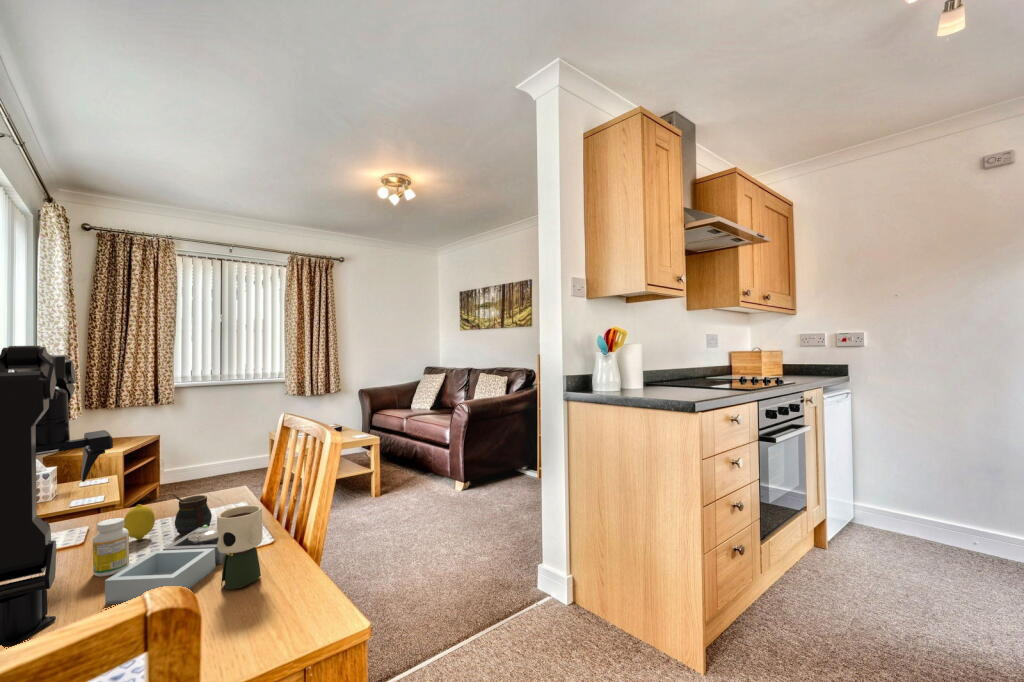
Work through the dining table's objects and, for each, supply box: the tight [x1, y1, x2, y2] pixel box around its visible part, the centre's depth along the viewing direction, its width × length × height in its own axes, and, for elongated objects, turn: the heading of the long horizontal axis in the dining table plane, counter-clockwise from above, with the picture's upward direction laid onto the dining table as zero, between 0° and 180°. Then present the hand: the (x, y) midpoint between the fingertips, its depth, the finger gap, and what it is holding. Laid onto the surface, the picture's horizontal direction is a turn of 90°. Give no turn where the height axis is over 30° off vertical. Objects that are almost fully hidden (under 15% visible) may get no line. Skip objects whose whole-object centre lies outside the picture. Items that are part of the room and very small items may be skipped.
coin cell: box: [188, 525, 219, 544], centre depth 97 cm, size 7×7×2 cm
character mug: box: [216, 504, 264, 590], centre depth 84 cm, size 11×7×13 cm, turn 58°
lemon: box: [123, 503, 156, 541], centre depth 105 cm, size 6×6×8 cm
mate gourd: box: [172, 494, 213, 537], centre depth 108 cm, size 7×8×10 cm
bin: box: [104, 548, 216, 605], centre depth 84 cm, size 11×11×4 cm
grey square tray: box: [162, 525, 226, 566], centre depth 97 cm, size 11×11×4 cm
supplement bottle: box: [92, 517, 130, 577], centre depth 90 cm, size 5×5×10 cm
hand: (53, 487), depth 96 cm, fingers open, 9 cm apart
